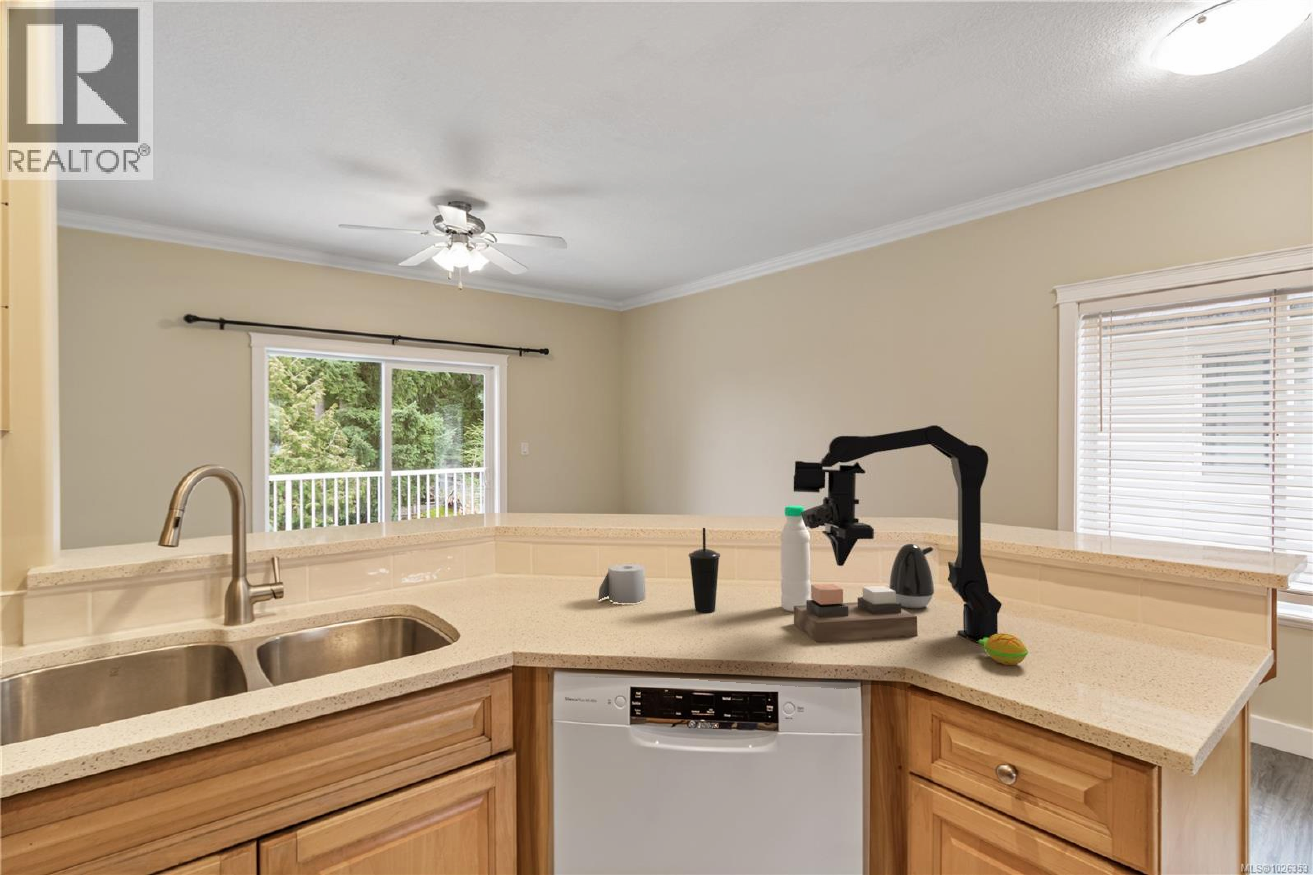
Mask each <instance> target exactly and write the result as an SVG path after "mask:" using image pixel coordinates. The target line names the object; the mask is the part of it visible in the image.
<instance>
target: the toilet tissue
mask: <svg viewBox="0 0 1313 875" xmlns="http://www.w3.org/2000/svg"><path fill="white" fill-rule="evenodd" d="M607 596H609V599H608V601H609V600H612V601H613V602H618V603H637V602H640V601H643V600H644V599H645V600H646V567H645V566H644V565H642V564H636V563H635V564H634V563H622V564H621V563H620V564H615V565H614V564H613V565H610V566H609V567H608V572H607V574H606V575H605V577H604V578H603V581H602V582H601V585H600V586H599V589H598V600H600V599H602V598H604V597H607ZM598 600H597V601H598Z"/></svg>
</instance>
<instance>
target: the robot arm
mask: <svg viewBox="0 0 1313 875" xmlns="http://www.w3.org/2000/svg"><path fill="white" fill-rule="evenodd" d="M927 445H928V446H929V445H930V446H931V447H933V448H934V449H936V450H937V451H938V452H940V453H941V454H942V455H943V456H944V457H947V458H948V459H950V463H951V468H952V469H951V470H952V474H953V476H954V480H955V483H956V487H957V556H956V559H955V562H952V561H948V562H947V565H948V571H949V574H948V577H947V581H948V582H949V583H950V584H951V588H952V589H953V591H955V593H956V594H957V595H958V596H960V597H961V599H962V602H964V603H963V610H962V611H963V612H962V620H963V621H962V623H963V624H962V625H963V626H962V627H963V628H962V629H961V630H960V629H959V630H957V634H958V635H961V636H963V637H965V638H967V639H969V640H971V641H973V642H975V643H979V642H978V641H979V640H983V638H985V637H986V638H990V637H991V636H992V635H994V634H998V633H999V632H998V630H999V629H998V627H999V626H998V625H999V624H998V622H999V621H998V614H999V612H1000V611H1001V608H1002V604H1003V603H1002V602H1001V601H1000V600H999V599H997V597H996V596H994V595H993V594H992V593H991V592H990V587H989V583H988V578H987V573H986V569H985V567H984V564H983V560H982V552H981V551H982V548H981V547H982V545H981V544H982V539H981V538H982V535H981V532H982V528H981V527H982V525H981V524H982V522H981V519H982V518H981V516H982V515H981V514H982V512H981V508H982V507H981V505H982V504H981V496H982V495H981V494H982V493H981V491H982V486H983V484H984V481H985V479H986V475H987V470H988V465H989V455H988V452H987V451H986V450H985V449H984V448H982V447H981V446H979V445H973V444H968V443H967V442H965V441H963V440H961V439H960V438H958V437H956V436H955V435H953V434H951V433H950V432H948V431H946V430H945V429H944V428H943V427H941V426H939V425H928V426H924V427H919V428H913V429H909V430H901V431H895V432H890V433H883V434H875V435H861V436H860V435H839V436H836V437H834V438H832V439H831V441H830V442H829V444H828V452H827V453H826V454H825V456H824V457H822V458H821V460H820V462H815V461H814V462H812V461H810V462H809V461H802V460H795V462H794V475H793V493H815V494H816V493H819V494H820V491H821V490H822V489H825V488H826V473H828V474H827V476H828V478H827V492H828V493H827V496H824V498H823V499H822V504H820V505H817V506H814V507H810V508H808V509H805V511H803V512H801V515H802V518H803V522H804V524H805V526H806V528H809V529H811V530H813V529H817V528H819V527H825V530H821V533H822V534H824V536H825V537H827V538H828V539H829V541H830V544H831V547H832V551H833V554H834V559H835V562H836V565H837V566H839V567H844V565H845V563H846V561H847V560H848V558H849V556H850V554H851V551H852V550H853V548H854V547H855V545H856V543H857V541H858V540H874V538H875V529H874V528H873V527H872V526H871V525H870V524H867V523H865V522H859V520H860V519H859V518H857V517H856V505H859V504H860V499H858V498H856V488H857V487H856V481H857V478H856V477H857V474H862V475H863V474H865V473H866V469H864V468H863V467H862V466H861V465H860V463H859V462H858V461H856V462H854V464H853V465H850V464H847V463H849V462H853V461H855V460H858V459H859V460H860V459H862V458H864V457H867V456H869V455H873V454H877V453H882V452H888V451H893V450H901V449H907V448H915V447H920V446H927ZM838 463H843V464H840V465H838V469H831V468H833V466H835V465H837V464H838ZM844 463H846V465H845V464H844ZM823 467H824V468H825V469H824V468H823ZM826 468H827V469H826ZM828 468H830V469H828Z"/></svg>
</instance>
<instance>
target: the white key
mask: <svg viewBox="0 0 1313 875" xmlns="http://www.w3.org/2000/svg"><path fill="white" fill-rule="evenodd" d="M862 597H863V599H864V600H866V601H868V602H870V603H872V604H888V603H896V591H894V590H892V589H889V587H887V586H885V585H876V586H875V585H874V586H862Z"/></svg>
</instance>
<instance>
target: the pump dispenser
mask: <svg viewBox="0 0 1313 875" xmlns="http://www.w3.org/2000/svg"><path fill="white" fill-rule="evenodd" d="M933 551H934V548H933V547H932V546H929V547H926V548H923V549H921V547H920V546H918V545H917V544H913V543H907V544H905V545H902V546H901V547H900V548H899V550H898V552H897V554H896V556H895V558H894V560H893V563H892V567H891V572H890V576H889V585H888V586H889V587H888V588H889V589H892V590H894V591H896V601H897V602H899V603H901V607H904V608H906V609H921V608H924V607H927V606H928V605H929V604H930V602H931V600H932V599H933V595H934V593H935V586H934V580H933V574H932V570H931V567H930V564H929V562H928V559H927V557H926V555H927V554H930V553H931V552H933Z"/></svg>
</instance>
